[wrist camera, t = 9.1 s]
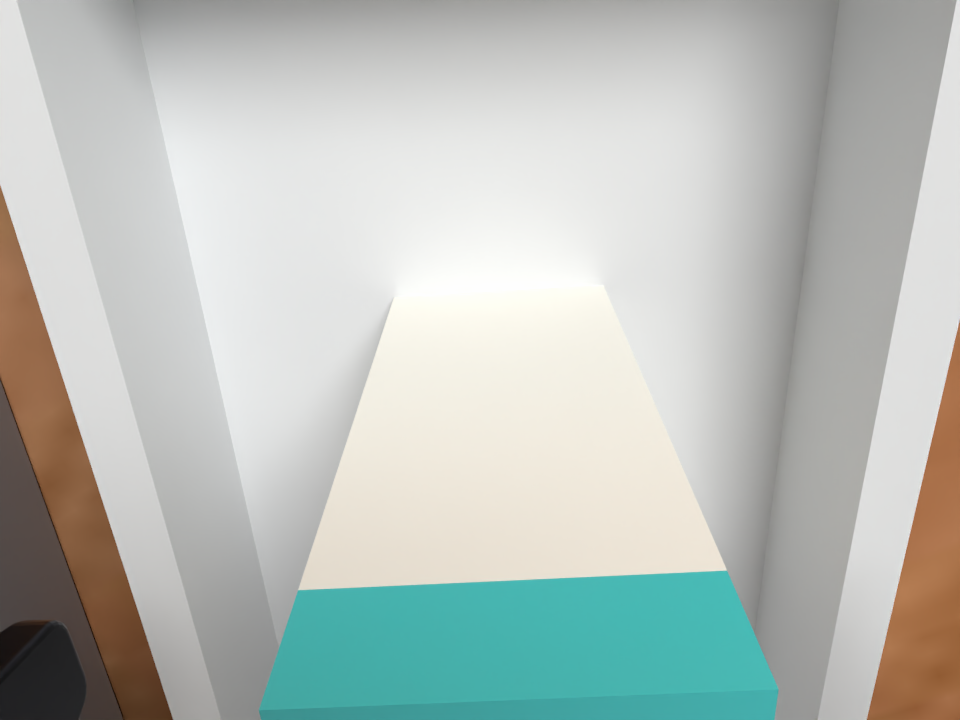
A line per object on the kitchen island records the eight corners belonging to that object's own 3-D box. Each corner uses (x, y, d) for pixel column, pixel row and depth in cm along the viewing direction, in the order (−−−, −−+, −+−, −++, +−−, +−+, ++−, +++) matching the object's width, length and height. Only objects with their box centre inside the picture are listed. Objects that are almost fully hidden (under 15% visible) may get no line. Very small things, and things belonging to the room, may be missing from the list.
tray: (765, 735, 15) (826, 892, 12) (278, 749, 15) (233, 907, 13) (915, -247, 8) (1120, -373, 6) (49, -187, 9) (-150, -279, 6)
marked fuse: (602, 515, 12) (726, 1051, 6) (421, 523, 12) (352, 1061, 6) (603, 284, 11) (778, 690, 4) (394, 297, 11) (258, 709, 4)
